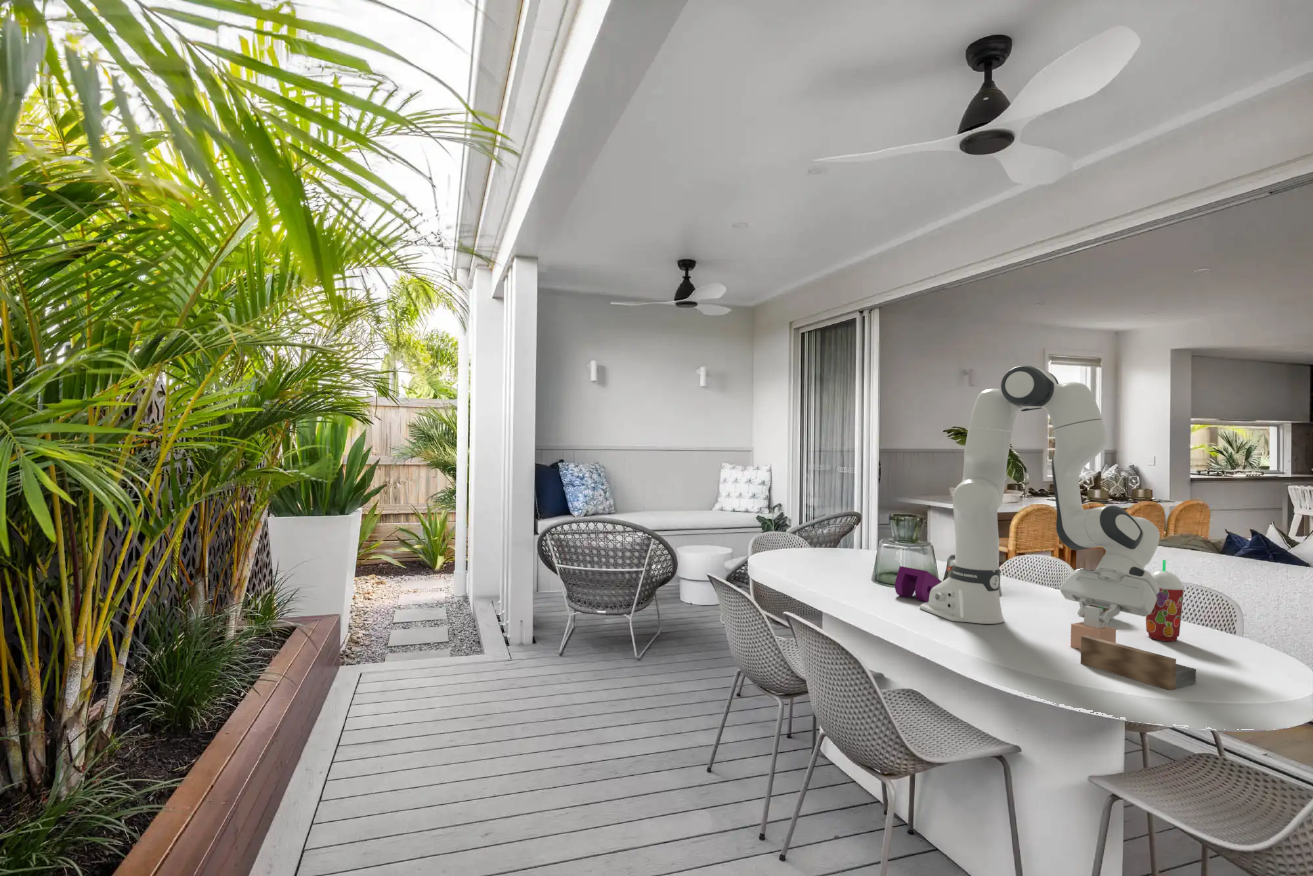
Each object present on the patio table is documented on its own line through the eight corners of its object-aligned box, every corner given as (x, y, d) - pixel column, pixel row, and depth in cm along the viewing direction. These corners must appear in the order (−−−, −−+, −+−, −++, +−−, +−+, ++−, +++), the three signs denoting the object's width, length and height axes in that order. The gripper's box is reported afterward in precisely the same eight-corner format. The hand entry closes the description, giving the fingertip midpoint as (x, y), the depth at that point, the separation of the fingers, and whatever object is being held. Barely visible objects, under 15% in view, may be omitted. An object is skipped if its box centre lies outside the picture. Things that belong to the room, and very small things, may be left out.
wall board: (1080, 663, 156) (1081, 636, 156) (1106, 658, 160) (1106, 631, 160) (1169, 690, 140) (1170, 660, 140) (1195, 683, 144) (1196, 654, 144)
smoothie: (1181, 638, 178) (1183, 559, 178) (1184, 645, 171) (1185, 564, 171) (1142, 632, 183) (1144, 556, 183) (1142, 639, 176) (1144, 560, 176)
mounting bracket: (921, 609, 227) (892, 591, 218) (928, 585, 230) (899, 566, 220) (948, 616, 220) (919, 597, 210) (955, 590, 222) (926, 571, 212)
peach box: (1070, 646, 168) (1071, 605, 168) (1085, 643, 171) (1086, 603, 171) (1100, 655, 162) (1101, 612, 162) (1115, 651, 165) (1116, 609, 165)
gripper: (1070, 559, 179) (1044, 600, 175) (1157, 573, 161) (1131, 620, 156) (1080, 575, 181) (1055, 616, 177) (1167, 591, 163) (1142, 638, 158)
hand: (1091, 618), depth 166 cm, fingers closed on peach box, 3 cm apart
